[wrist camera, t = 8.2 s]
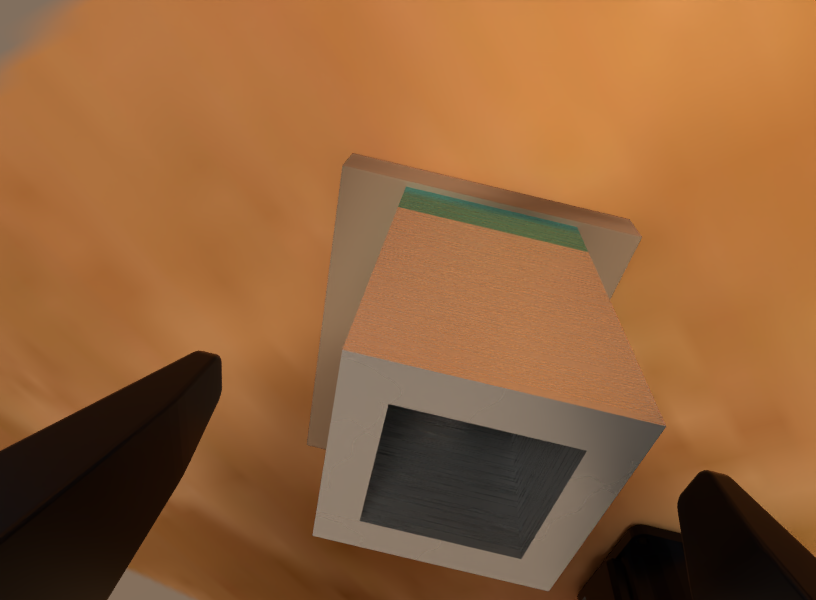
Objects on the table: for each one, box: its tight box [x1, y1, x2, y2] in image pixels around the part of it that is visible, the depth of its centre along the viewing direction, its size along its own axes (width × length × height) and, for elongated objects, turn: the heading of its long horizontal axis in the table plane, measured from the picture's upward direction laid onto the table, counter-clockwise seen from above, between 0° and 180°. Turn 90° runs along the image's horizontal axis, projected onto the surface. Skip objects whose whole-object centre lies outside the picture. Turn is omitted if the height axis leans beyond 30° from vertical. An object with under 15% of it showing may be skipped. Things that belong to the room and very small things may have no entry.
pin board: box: [307, 153, 642, 449], centre depth 15 cm, size 8×11×4 cm
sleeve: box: [313, 187, 666, 591], centre depth 11 cm, size 5×5×7 cm
